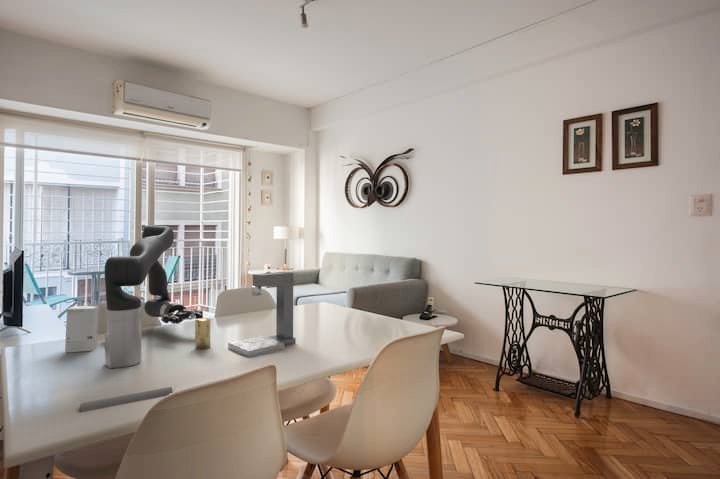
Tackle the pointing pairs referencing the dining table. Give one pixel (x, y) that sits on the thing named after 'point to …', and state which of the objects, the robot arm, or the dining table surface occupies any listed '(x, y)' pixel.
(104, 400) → the half round rod
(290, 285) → the press
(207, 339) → the cylinder
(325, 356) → the dining table surface
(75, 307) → the skincare box
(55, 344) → the dining table surface
